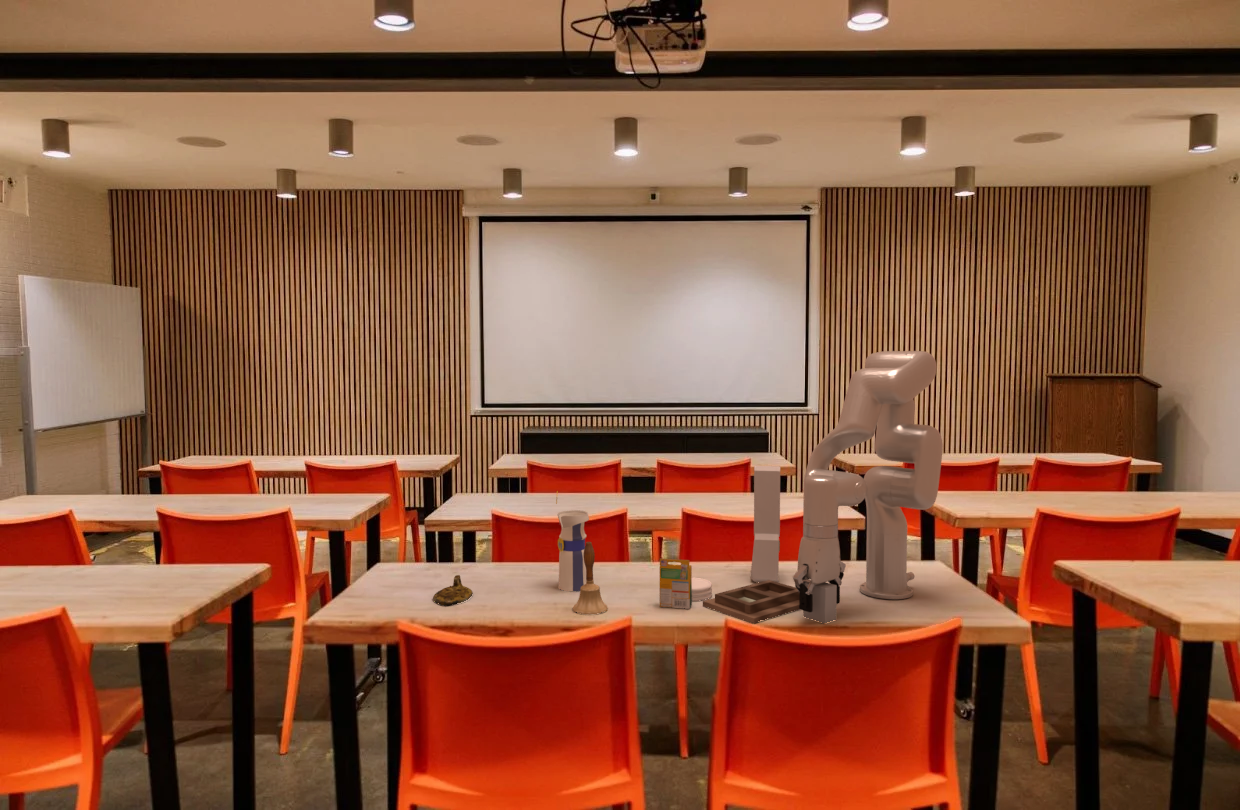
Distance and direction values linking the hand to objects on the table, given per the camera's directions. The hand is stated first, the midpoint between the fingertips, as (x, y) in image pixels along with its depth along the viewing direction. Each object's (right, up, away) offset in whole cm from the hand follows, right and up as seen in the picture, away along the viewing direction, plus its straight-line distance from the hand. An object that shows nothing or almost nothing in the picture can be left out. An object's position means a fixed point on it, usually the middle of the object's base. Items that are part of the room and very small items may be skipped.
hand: (819, 606), depth 176 cm
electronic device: (-6, -1, +34) cm, 34 cm away
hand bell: (-52, -3, +8) cm, 52 cm away
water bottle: (-57, -2, +25) cm, 62 cm away
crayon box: (-32, -3, +10) cm, 33 cm away
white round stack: (-27, -2, +18) cm, 33 cm away
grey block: (0, -3, 0) cm, 3 cm away
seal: (-86, -3, +18) cm, 88 cm away
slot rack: (-12, -2, +10) cm, 16 cm away
